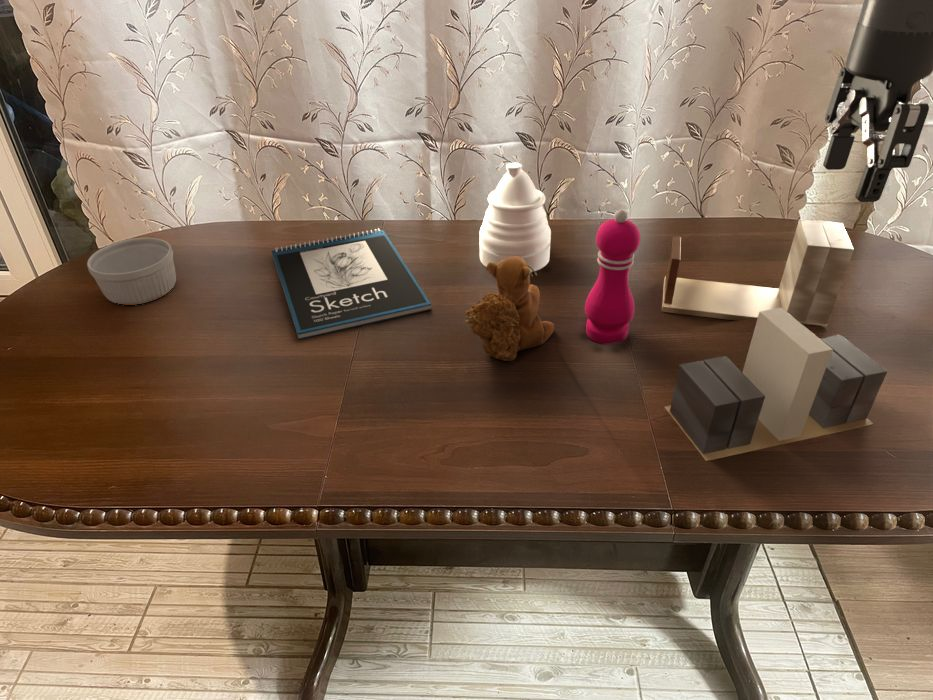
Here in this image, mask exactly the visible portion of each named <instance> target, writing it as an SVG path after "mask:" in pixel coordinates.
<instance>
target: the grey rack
mask: <svg viewBox="0 0 933 700" xmlns="http://www.w3.org/2000/svg"><path fill="white" fill-rule="evenodd" d="M819 339H820V340H822V341H823V342H824V343H825V344H827V345H828V346H829V347H830V348H832V349H833V351H832V353H831V356H830V359H829V361H828V364H827V367H826V369H825V372H824V375H823V377H822V380H821V383H820V385H819V388H818V391H817V393H816V396H815V399H814V401H813V404H812V407H811V409H810V412H809V415H808V417H807V420H806V423H805V425H804V428H803V431H802V433H801V436H800V437H796V438H791V439H786V440H782V441H778V440H777V439H776V438H775V436H774V435H773V434H772V433H771V432H770V431H769V430H768V429H767V428H766V427H765V426H764V425H763V424H762V423H761V421H760V420H759V419H758V418H759V415H760V412H761V408H762V405H763V402H764V399H765V395H764V394H763V393H762V392H761V391H760V390H759V389H758V388H757V387H756V386H755V385H754V384H753V383H752V382H751V381H750V380H749V379H748V378H747V377H746V376H745V375H744V374H743V373H742V372H743V371H741V370H740V368H738V366H737V365H736V364H734V362H733V361H731V360H730V358H728V356H726V355H724V356H718V357H712V358H707V359H704V360H696V361H692V362H686V363H681V364H679V366H678V370H677V374H676V379H675V384H674V389H673V394H672V398H671V404H670V405H667V406H664V409H665V411H667V413H668V414H669V416H670V417H671V418H672V419H673V420H674V422H675V423H676V424H677V425H678V427H679V428H680V429H681V431H682V432H683V433H684V435H685V436H686V437H687V438H688V440H689V442H691V444H692V445H693V447H694V448H695V449H696V450H697V451H698V453H699V454H700V456H702V458H703V459H704V460H705V461H706V462H708V461H713V460H717V459H723V458H727V457H730V456H735V455H740V454H745V453H748V452H754V451H757V450H759V451H760V450H764V449H768V448H772V447H776V446H780V445H785V444H790V443H791V444H792V443H795V442H799V441H800V442H801V441H804V440H808V439H813V438H817V437H823V436H826V435H832V434H835V433H840V432H845V431H850V430H853V429H859V428H862V427H863V428H864V427H869V426H872V425H874V423H873V422H872V421H871V420H870V419H869V418H868V416H869V414H870V412H871V409H872V407H873V406H874V404H875V401H876V398H877V396H878V394H879V392H880V389H881V387H882V385H883V383H884V381H885V378H886V376H887V374H888V371H887V369H885V368H884V367H883V366H881V365H880V364H879V363H877V362H876V361H875V360H873V359H872V358H871V357H870V356H868V355H867V354H866V353H865V352H863V351H862V350H860V348H858V347H856V346H855V345H854V344H853V343H852V342H851V341H849V340H848V339H846V338H845V337H844V336H843V335H841V334H837V335H831V336H826V337H821V338H819Z"/></svg>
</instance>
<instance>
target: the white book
mask: <svg viewBox="0 0 933 700" xmlns="http://www.w3.org/2000/svg"><path fill="white" fill-rule="evenodd" d="M832 351H833V349H832V348H830V347H829V346H828V345H827V344H825V343H824V342H823V341H822V340H820V338H819V337H818V336H817V335H816V334H815V333H813V332H812V331H811V330H809V328H807V327H806V326H805V325H804V324H803V323H799V322H798V321H797V320H796V319H795V318H793V317H792V316H791V315H790V314H788V313H787V312H786V311H785V310H783V309H782V308H777V309H771V310H766V311H760V312H759V315H758V318H756V323H755V327H754V330H753V333H752V336H751V341H750V344H749V348H748V352H747V355H746V358H745V362H744V366H743V369H742V371H741V372H742V373H743V374H744V375H745V376H746V377H747V378H748V379H749V380H750V381H751V382H752V383H753V384H754V385H755V386H756V387H757V388H758V389H759V390H760V391H761V392H762V393H763V394H764V395H765V399H764V402H763V405H762V408H761V412H760V415H759V418H758V419H759V420H760V421H761V423H762V424H763V425H764V426H765V427H766V428H767V429H768V430H769V431H770V432H771V433H772V434H773V435H774V436H775V438H776V439H777V440H778V441H782V440H786V439H791V438H796V437H800V436H801V433H802V431H803V428H804V425H805V423H806V420H807V417H808V415H809V412H810V409H811V407H812V404H813V401H814V399H815V396H816V393H817V391H818V388H819V385H820V383H821V380H822V377H823V375H824V372H825V369H826V367H827V364H828V361H829V359H830V356H831V353H832Z"/></svg>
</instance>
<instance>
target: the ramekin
mask: <svg viewBox="0 0 933 700" xmlns="http://www.w3.org/2000/svg"><path fill="white" fill-rule="evenodd" d="M86 266H87V269H88V273H89V275H91V276H92V277H93V279H94V280H95V282H96V284H97V286H98V287H99V289H100V291H101V293H102V294H103V296H104V297H105V298H106V299H107V300H108V301H110V302H111V303H114V304H116V303H118V304H117V305H119V304H139V303H143V302H147V301H151V300H154V299H156V298H159V297H160V296H163V295H164V294H166V293H167V292H169V291H170V290H171V289H172V288H174V286H175V285H176V283H177V274H176V273H177V272H176V266H175V263H174V251H173V249H172V246H171V244H170V243H169V242H168V241H166V240H164V239H161V238H158V237H135V238H134V237H133V238H128V239H124V240H121V241H120V240H119V241H116V242H112V243H110V244H108V245H106V246H104V247H102V248H100V249H98V250H97V251H95V252H94V253H92V254H91V255H90V257H88V259H87V261H86ZM172 290H173V289H172ZM172 290H171V291H172ZM171 291H170V292H171ZM170 292H169V293H170Z"/></svg>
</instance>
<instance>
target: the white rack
mask: <svg viewBox="0 0 933 700" xmlns="http://www.w3.org/2000/svg"><path fill="white" fill-rule="evenodd" d="M797 223H798V224H797V226H796V229H795V232H794V236H793V239H792V243H791V246H790V250H789V253H788V257H787V260H786V263H785V266H784V269H783V272H782V273H783V274H782V277H781V280H780V283H779V286H778V288H777V287H774V288H773V287H766V286H756V285H748V284H741V283H740V284H739V283H731V282H730V283H729V282H721V281H720V282H719V281H713V280H712V281H711V280H702V279H693V278H685V277H678V273H679V267H680V263H681V251H682V250H681V248H682V247H681V245H682V242H681V241H682V236H677V235H676V236H675V235H673V236H672V240H671V247H670V252H669V257H668V263H667V269H666V274H665V276H664V278H663V283H662V285H663V287H662V299H661V300H662V301H661V312H662V313H670V314H678V315H687V316H695V317H704V318H711V319H719V320H728V321H735V322H739V321H744V320H751V319H758V315H759V312H760V311H766V310H771V309H777V308H782V309H783V310H785V311H786V312H787V313H788V314H790V315H791V316H792V317H793V318H795V319H796V320H797V321H798V322H799V323H801V324H803V325H811V326H812V325H814V326H821V327H823V328H824V329H825V330H827V329H828V328H829V327H828V323H829V320H830V318H831V315H832V312H833V310H834V306H835V304H836V301H837V298H838V295H839V292H840V290H841V287H842V284H843V281H844V279H845V276H846V274H847V270H848V268H849V264H850V262H851V259H852V256H853V254H854V251H855V249H854V246H853V244H852V242H851V239H850V237H849V235H848V232H847V231H846V229H845V226H844V223H843V222H839V221H827V220H815V219H803V218H799V219H798V222H797Z"/></svg>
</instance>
